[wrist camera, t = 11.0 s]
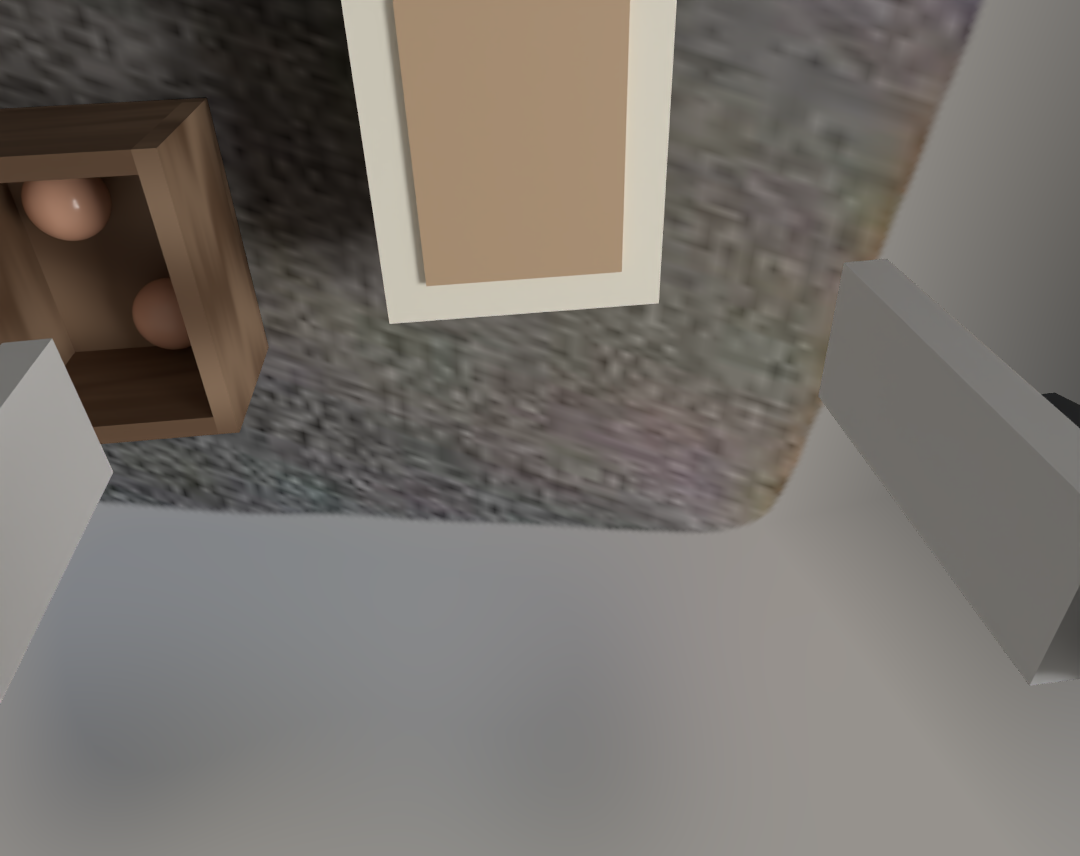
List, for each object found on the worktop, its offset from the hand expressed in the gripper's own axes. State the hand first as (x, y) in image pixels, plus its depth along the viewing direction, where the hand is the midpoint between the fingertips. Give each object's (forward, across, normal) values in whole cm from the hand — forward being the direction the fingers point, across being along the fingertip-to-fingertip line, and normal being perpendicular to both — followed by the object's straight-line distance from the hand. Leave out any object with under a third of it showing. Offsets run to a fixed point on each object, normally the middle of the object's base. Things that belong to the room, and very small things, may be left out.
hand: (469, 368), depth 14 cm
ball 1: (+22, -15, -3) cm, 26 cm away
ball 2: (+22, -12, -8) cm, 26 cm away
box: (+22, -14, -6) cm, 27 cm away
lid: (+17, +2, -1) cm, 17 cm away
